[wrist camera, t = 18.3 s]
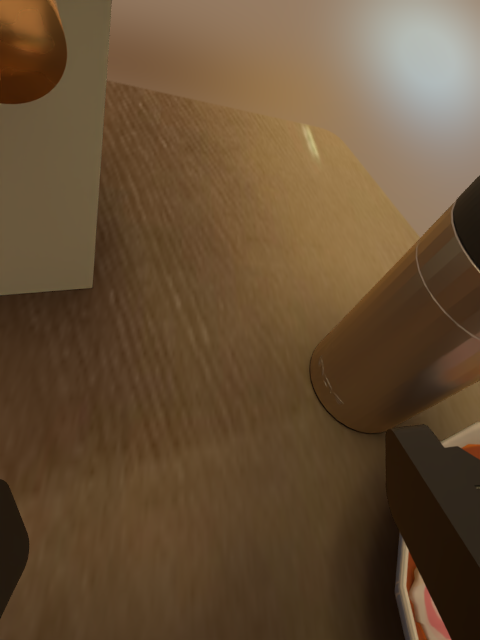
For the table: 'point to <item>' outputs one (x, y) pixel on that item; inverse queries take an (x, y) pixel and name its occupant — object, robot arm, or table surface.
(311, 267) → the table surface
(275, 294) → the table surface
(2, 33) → the rod
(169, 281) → the table surface
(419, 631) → the ramen bowl
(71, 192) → the beige rectangular block
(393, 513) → the robot arm
